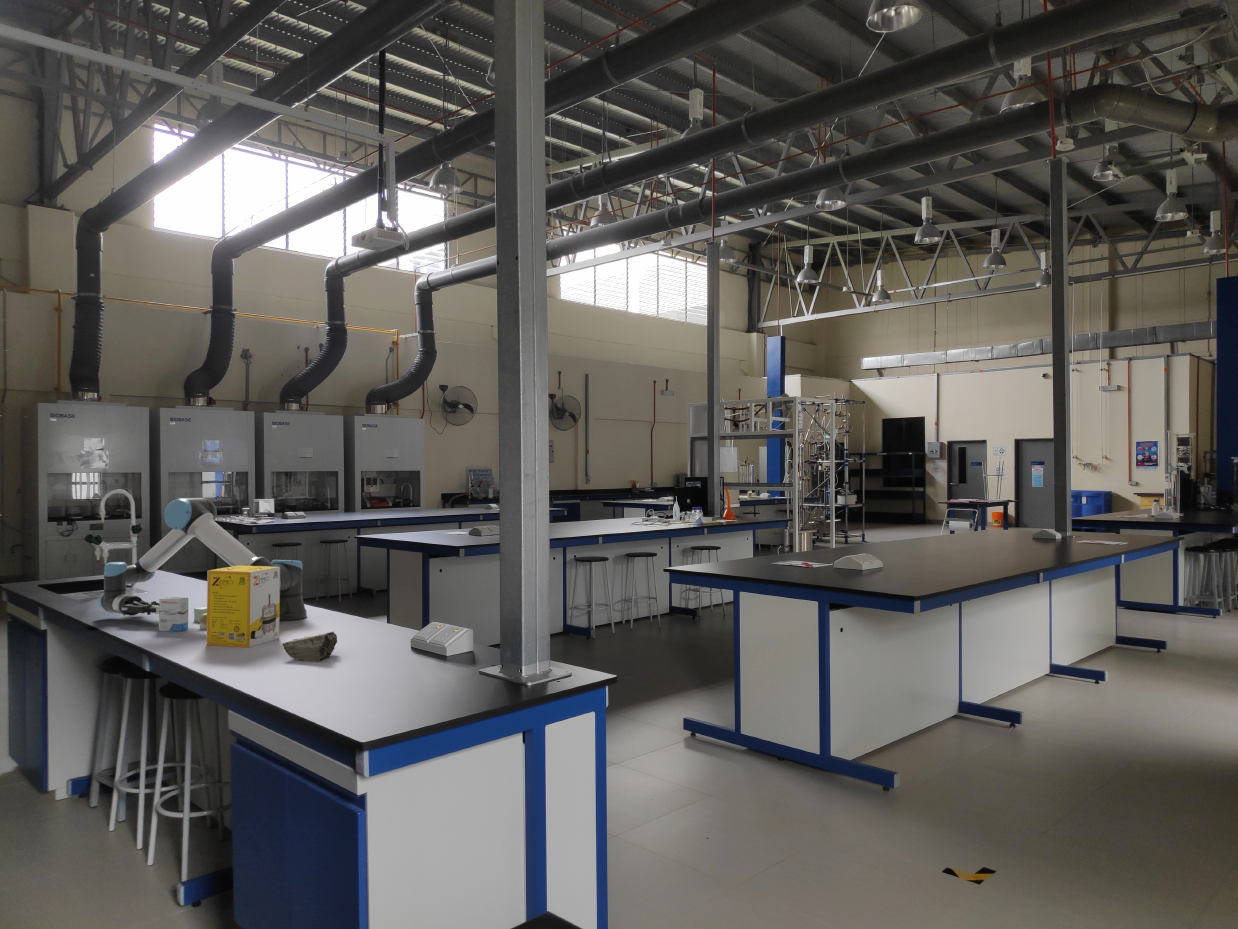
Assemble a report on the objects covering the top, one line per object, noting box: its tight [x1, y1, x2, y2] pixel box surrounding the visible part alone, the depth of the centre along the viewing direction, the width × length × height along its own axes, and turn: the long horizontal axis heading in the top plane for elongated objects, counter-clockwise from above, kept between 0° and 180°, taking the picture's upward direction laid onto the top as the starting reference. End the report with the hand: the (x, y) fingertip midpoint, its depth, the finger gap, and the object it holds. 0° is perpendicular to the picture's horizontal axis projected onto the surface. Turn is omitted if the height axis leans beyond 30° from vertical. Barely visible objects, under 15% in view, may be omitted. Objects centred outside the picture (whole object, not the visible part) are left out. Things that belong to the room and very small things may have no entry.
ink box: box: [158, 596, 189, 632], centre depth 296 cm, size 8×5×12 cm, turn 84°
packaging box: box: [205, 565, 280, 648], centre depth 278 cm, size 16×16×25 cm
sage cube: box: [193, 606, 207, 623], centre depth 315 cm, size 5×5×5 cm
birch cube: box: [199, 613, 207, 630], centre depth 302 cm, size 5×5×5 cm
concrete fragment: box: [282, 631, 338, 663], centre depth 255 cm, size 15×10×15 cm
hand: (163, 610), depth 300 cm, fingers closed
